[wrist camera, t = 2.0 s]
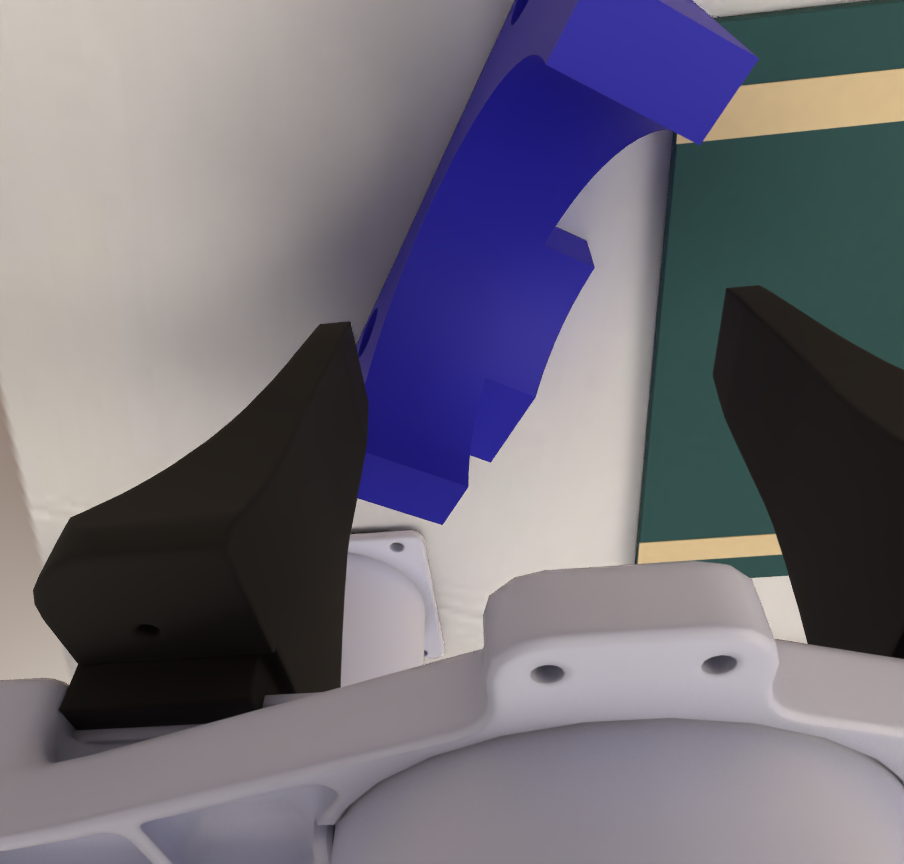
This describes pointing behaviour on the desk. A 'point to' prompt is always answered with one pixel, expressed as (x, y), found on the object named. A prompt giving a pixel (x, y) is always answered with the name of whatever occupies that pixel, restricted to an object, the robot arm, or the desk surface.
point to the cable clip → (519, 227)
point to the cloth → (773, 254)
